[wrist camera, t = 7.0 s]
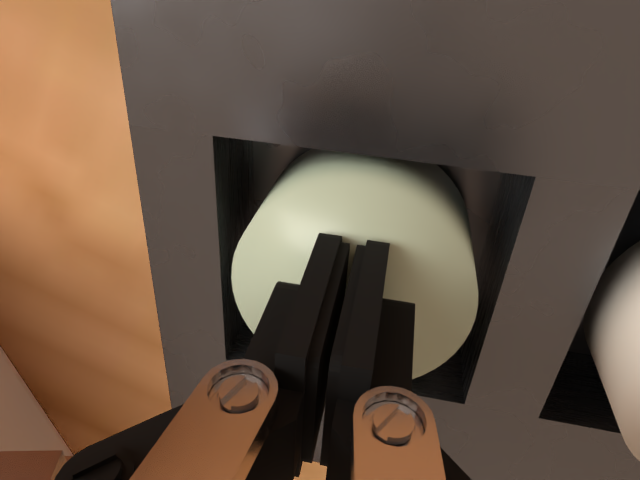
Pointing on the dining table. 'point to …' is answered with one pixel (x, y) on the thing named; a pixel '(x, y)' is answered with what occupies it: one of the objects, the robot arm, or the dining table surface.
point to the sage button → (368, 224)
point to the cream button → (618, 341)
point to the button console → (412, 145)
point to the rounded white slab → (23, 416)
